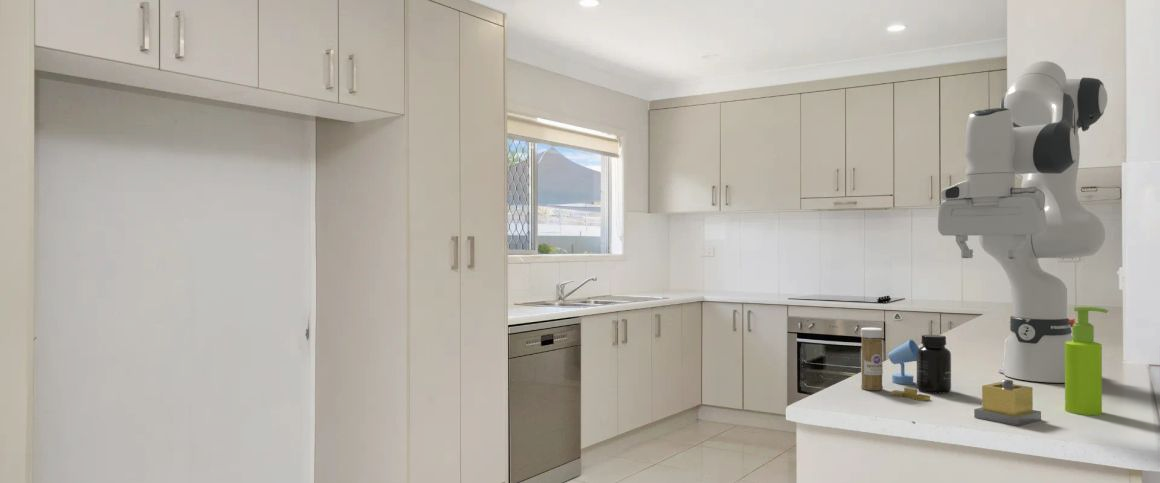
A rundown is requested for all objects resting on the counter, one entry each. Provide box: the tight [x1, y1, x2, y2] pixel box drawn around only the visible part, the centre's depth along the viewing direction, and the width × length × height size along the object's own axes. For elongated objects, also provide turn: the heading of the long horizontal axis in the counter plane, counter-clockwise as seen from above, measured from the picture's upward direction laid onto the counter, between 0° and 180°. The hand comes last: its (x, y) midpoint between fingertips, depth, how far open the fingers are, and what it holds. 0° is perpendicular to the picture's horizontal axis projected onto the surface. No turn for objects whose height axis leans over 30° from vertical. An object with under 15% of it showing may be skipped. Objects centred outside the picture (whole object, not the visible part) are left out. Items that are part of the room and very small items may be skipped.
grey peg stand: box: [973, 379, 1042, 427], centre depth 142 cm, size 8×8×7 cm
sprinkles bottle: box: [860, 326, 884, 392], centre depth 169 cm, size 5×5×14 cm
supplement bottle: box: [916, 334, 952, 394], centre depth 167 cm, size 7×7×12 cm
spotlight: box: [888, 339, 920, 385], centre depth 176 cm, size 5×10×7 cm
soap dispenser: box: [1064, 306, 1109, 416], centre depth 146 cm, size 6×7×20 cm
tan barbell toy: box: [890, 387, 931, 402], centre depth 160 cm, size 2×8×2 cm, turn 33°
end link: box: [981, 381, 1034, 416], centre depth 142 cm, size 6×6×4 cm
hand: (990, 258), depth 153 cm, fingers open, 8 cm apart
